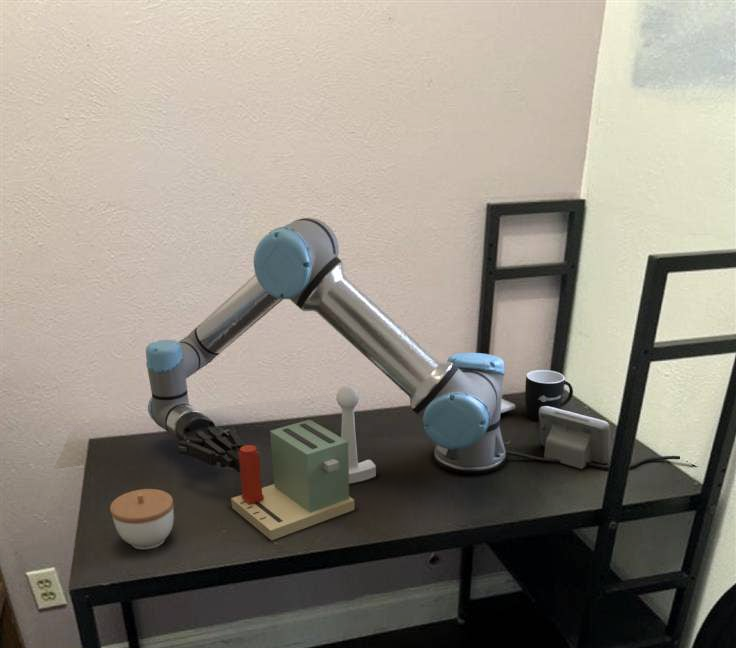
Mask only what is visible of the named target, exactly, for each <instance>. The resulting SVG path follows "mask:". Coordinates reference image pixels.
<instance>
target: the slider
mask: <svg viewBox="0 0 736 648" xmlns="http://www.w3.org/2000/svg"><path fill="white" fill-rule="evenodd" d="M238 453H239V463H240V473H241V474H240V473H239V474H240V483H241V493H242V494H241V495H242V499H243V500H244V501H245V502H247V503H248V504H249V505H250V504H252V503H255V502H258V501H261V500H264V496H263V495H262V488H263V486H262V485H263V484H262V473H261V462H260V452H259V451H258V449H257V446H255V445H253V444H247V445H244V446H242V447H241V448H240V452H238Z"/></svg>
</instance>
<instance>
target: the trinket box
mask: <svg viewBox="0 0 736 648" xmlns="http://www.w3.org/2000/svg"><path fill="white" fill-rule="evenodd" d="M109 511H110V514H111V516H112V521H113V524H114V525H113V526H114V527H115V530H116V532H117V534H118V535H119V537H120V538H121V539H122V540H123V541H124V542H125V543H127V544H129V545H130V546H131V547H133V548H134V549H138V550H150V549H155V548H158V547H160V546H161V545H163V544H164V543H165V541H166V539H167V538H168V537H169V535H170V534H171V532H172V530H173V527H174V522H175V510H174V498H173V496H172V495H171V494H170V493H168V492H166V491H164V490H162V489H161V490H160V489H155V488H142V489H135V490H132V491H129V492H128V491H127V492H125V493H123V494H121V495H120V496H117V497H116V498H115V499H114V500H113V501H112V502H111V503H110V506H109Z"/></svg>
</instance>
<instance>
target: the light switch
mask: <svg viewBox="0 0 736 648" xmlns="http://www.w3.org/2000/svg"><path fill="white" fill-rule="evenodd" d="M516 406H517V405H516V404H515V403H514V402H511V401H509V400H506V399H504V398H502V401H501V414H504V413H506V412H508V411H512V410H515V409H516Z"/></svg>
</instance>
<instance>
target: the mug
mask: <svg viewBox="0 0 736 648" xmlns="http://www.w3.org/2000/svg"><path fill="white" fill-rule="evenodd" d="M565 385H566V386H567V387H568V391H569V392H568V395H567V397H566V399H565V400H563V401H562V398H563V395H564V394H563V393H564V390H565V389H564V388H565ZM524 388H525V389H524V398H525V400H524V401H525V411H526V415H527V417H528V418H530V419H531V420H533V421H536V422H537V421H538V422H540V421H539V409H540V407H542V406H549V407H553V408H557V409H560V408H562V407H564V406H565V405H567V404H568V403H569V402H570V401H571V400H572V398H573V395H574V387H573V386H572V384H571V383H570V382H568V381H567V380H566V378H565V376H564V374H562V373H560V372H558V371H555V370H547V369H537V370H532V371H529V372H528V373H526V377H525V387H524Z"/></svg>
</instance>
